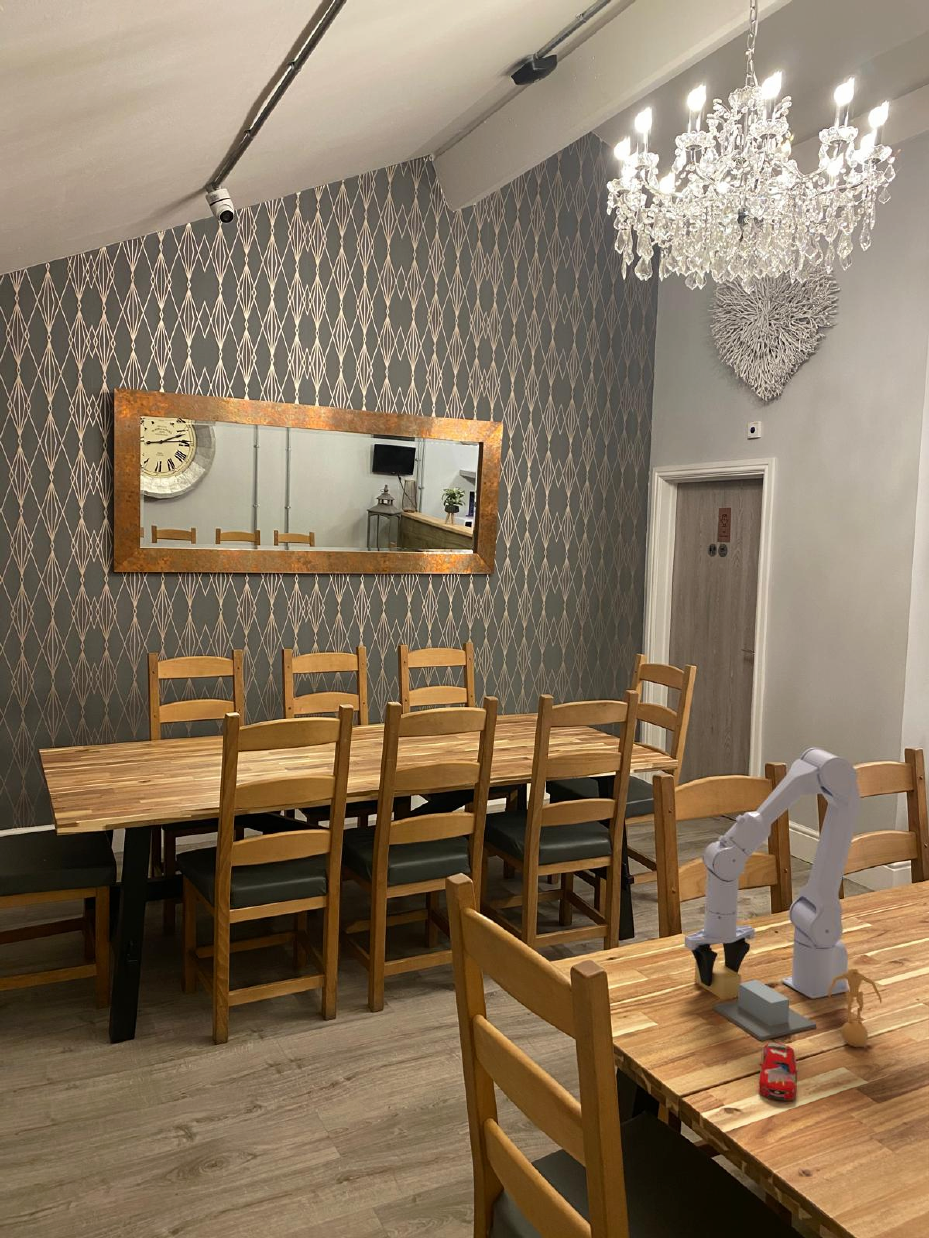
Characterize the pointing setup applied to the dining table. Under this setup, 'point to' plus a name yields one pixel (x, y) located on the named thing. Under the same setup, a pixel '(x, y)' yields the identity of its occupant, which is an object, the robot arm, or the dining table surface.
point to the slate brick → (763, 1002)
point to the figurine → (852, 1029)
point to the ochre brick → (721, 981)
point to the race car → (778, 1072)
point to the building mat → (761, 1028)
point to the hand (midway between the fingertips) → (718, 981)
